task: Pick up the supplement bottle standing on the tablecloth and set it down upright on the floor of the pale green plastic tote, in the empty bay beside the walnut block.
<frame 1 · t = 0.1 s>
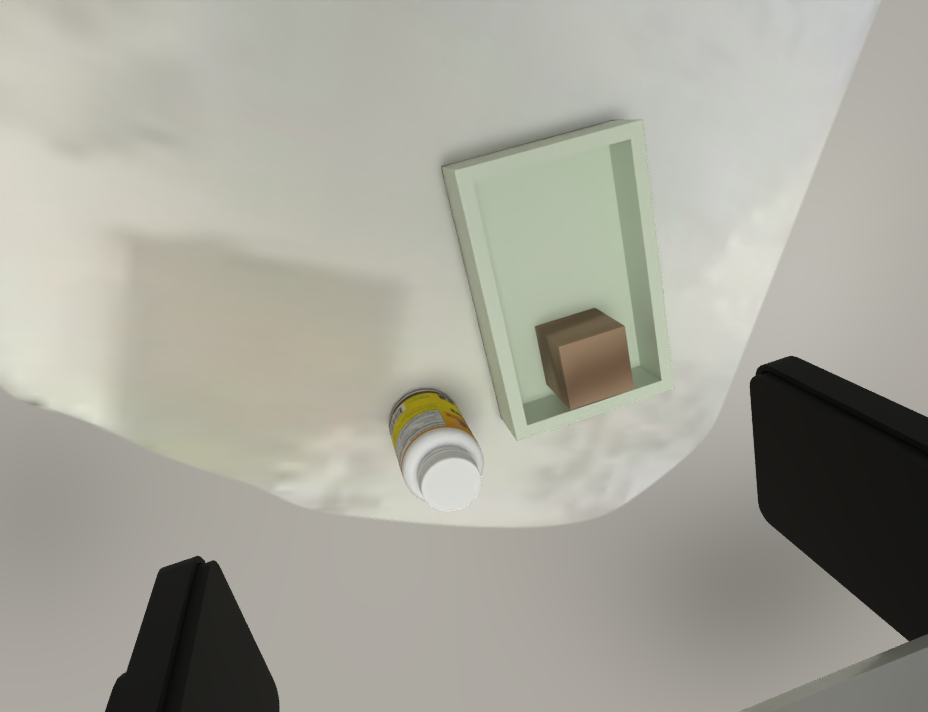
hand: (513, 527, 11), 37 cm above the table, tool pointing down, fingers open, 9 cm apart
walnut block: (570, 346, 51), point 1 cm above the table, touching tote
supplement bottle: (423, 418, 51), on the table
tote: (554, 277, 49), on the table
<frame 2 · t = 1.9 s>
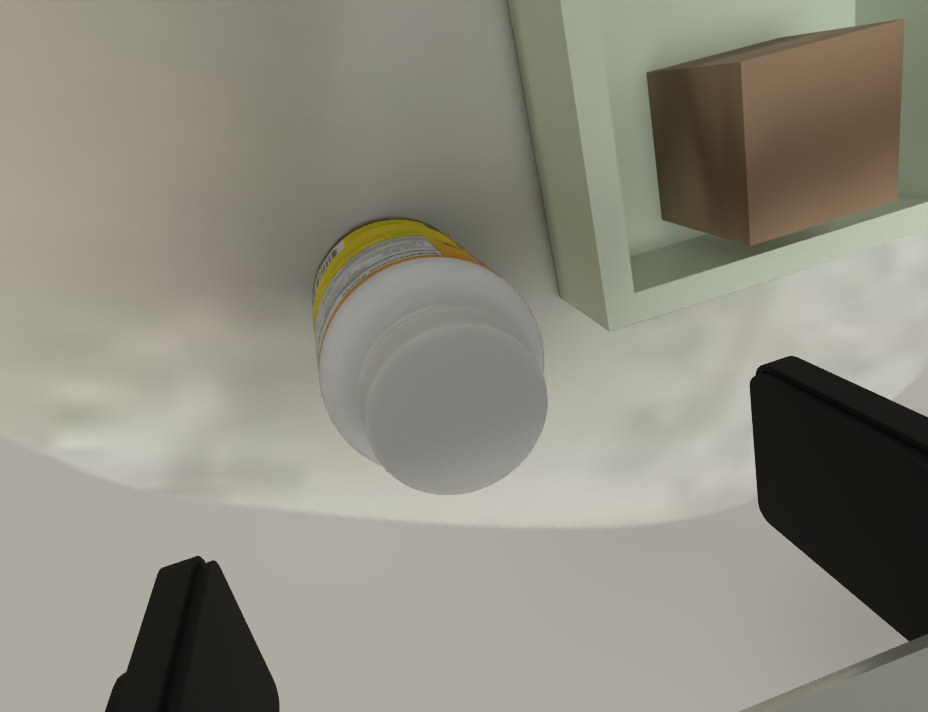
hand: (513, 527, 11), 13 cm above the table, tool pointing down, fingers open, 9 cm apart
walnut block: (718, 131, 23), point 1 cm above the table, touching tote
supplement bottle: (391, 291, 23), on the table
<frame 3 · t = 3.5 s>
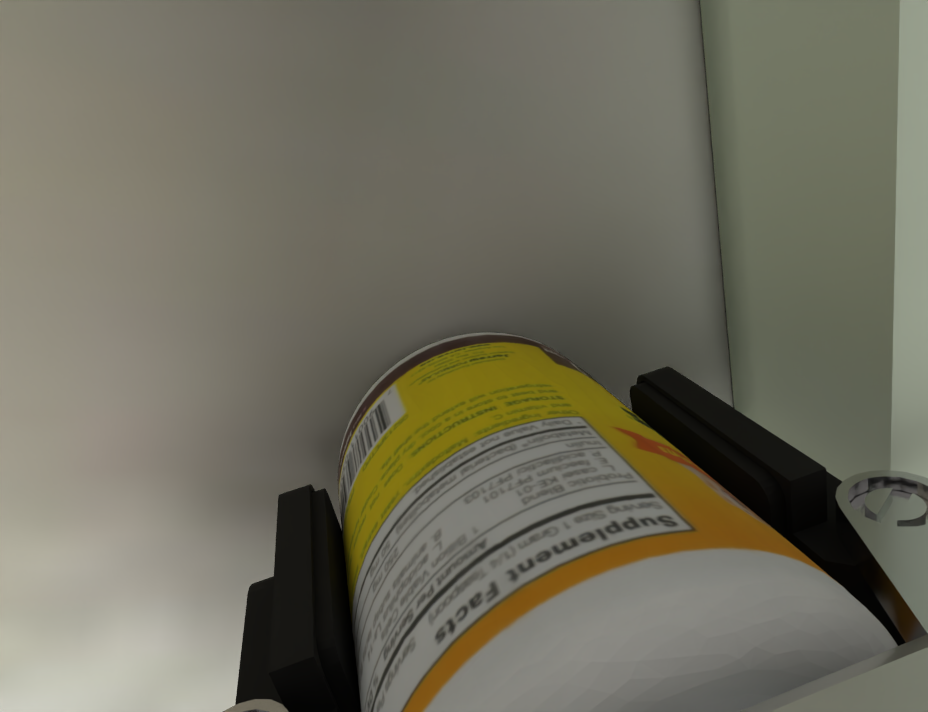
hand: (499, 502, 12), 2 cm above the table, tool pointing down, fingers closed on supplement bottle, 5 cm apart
supplement bottle: (469, 445, 14), on the table, touching gripper
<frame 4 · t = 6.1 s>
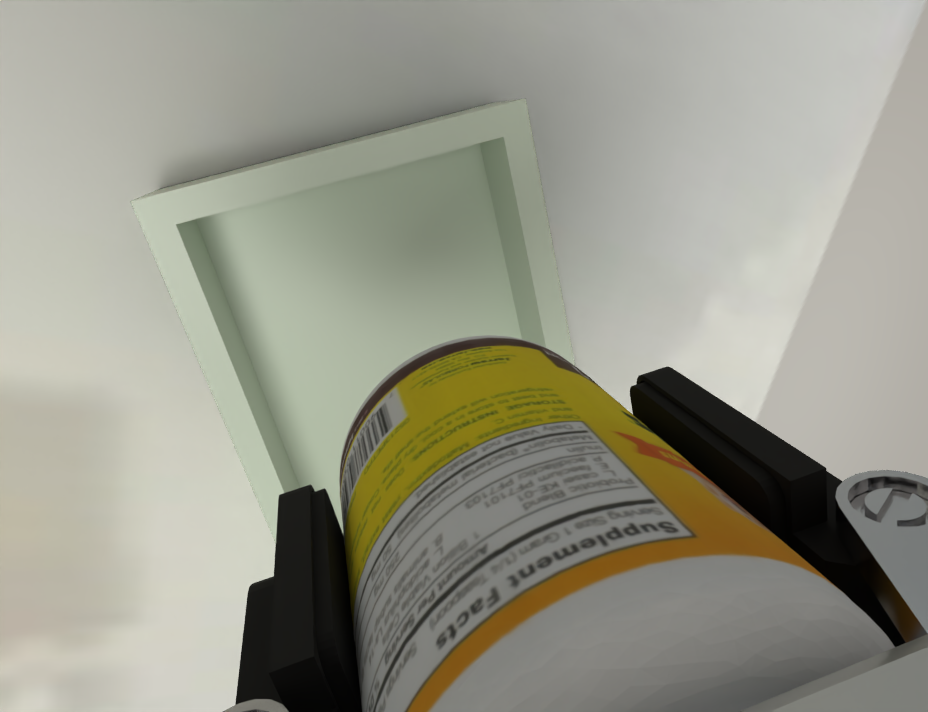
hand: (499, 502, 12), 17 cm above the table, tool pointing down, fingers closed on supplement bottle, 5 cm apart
supplement bottle: (470, 448, 14), point 15 cm above the table, touching gripper
tote: (400, 378, 28), on the table
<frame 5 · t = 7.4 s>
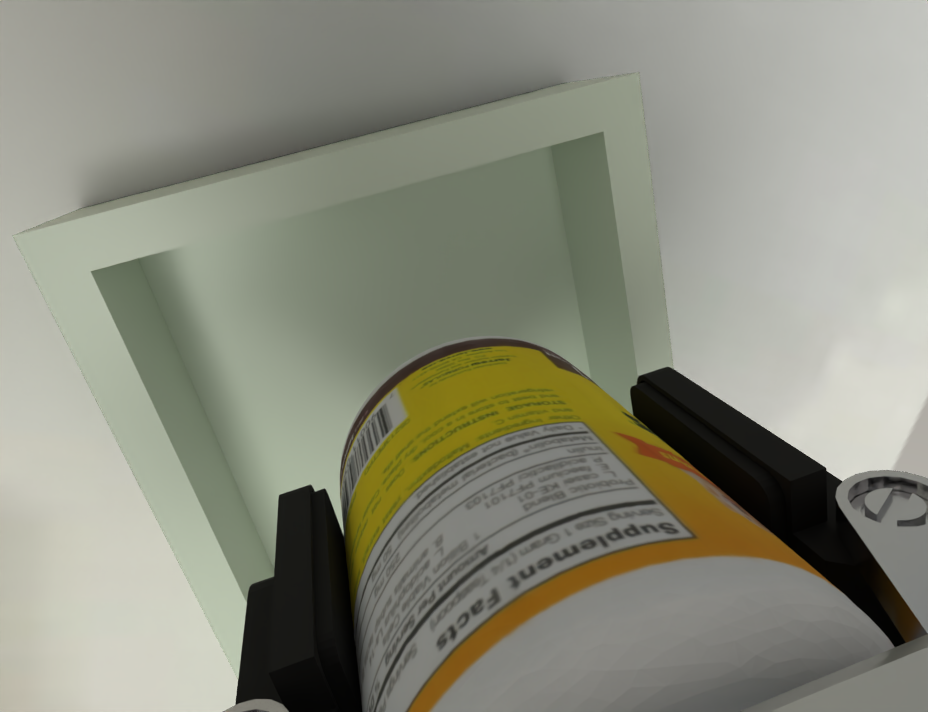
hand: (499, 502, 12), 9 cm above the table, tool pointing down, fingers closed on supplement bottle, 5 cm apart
supplement bottle: (470, 448, 14), point 6 cm above the table, touching gripper
tote: (429, 461, 21), on the table
when the fingers open (5 cm above the table, at t = 8.6 s): supplement bottle drops 2 cm, resting on tote.
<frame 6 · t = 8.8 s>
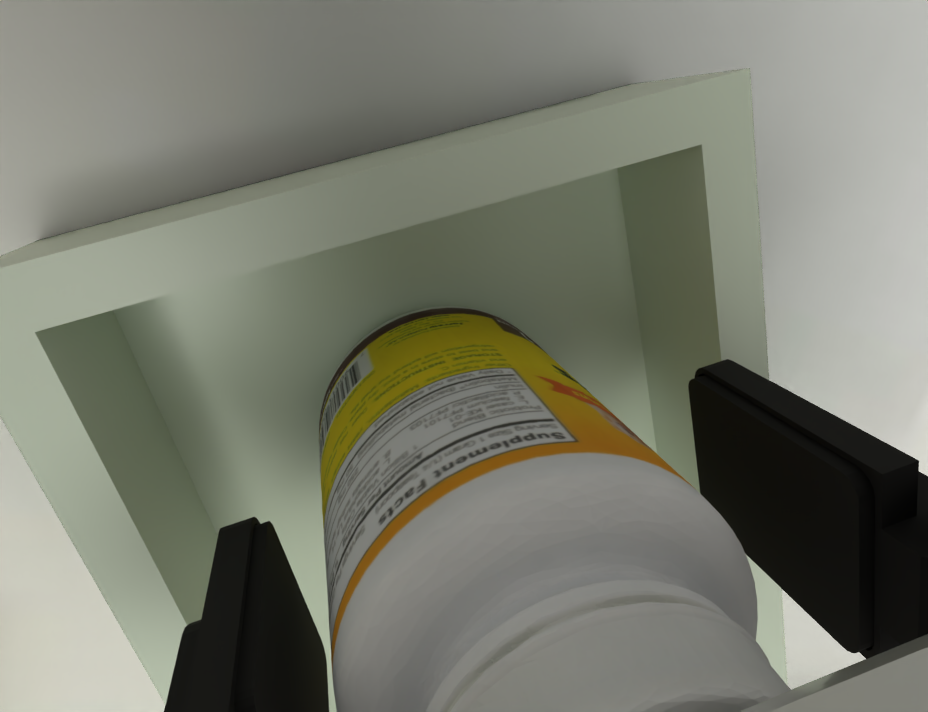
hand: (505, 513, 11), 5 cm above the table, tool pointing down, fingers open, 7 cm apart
supplement bottle: (436, 407, 15), point 1 cm above the table, touching tote
tote: (461, 532, 18), on the table
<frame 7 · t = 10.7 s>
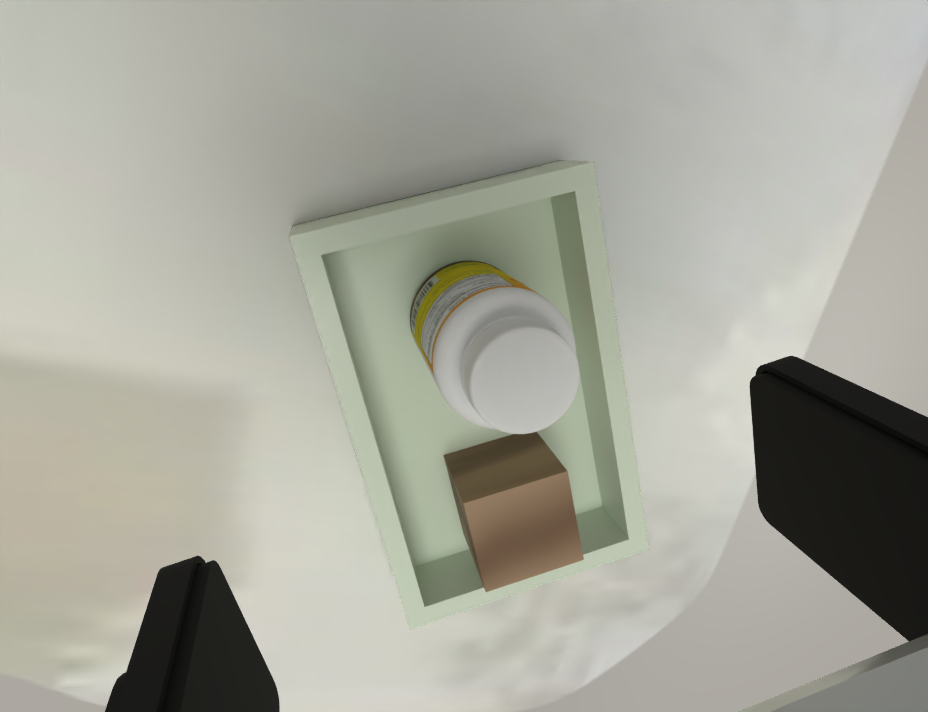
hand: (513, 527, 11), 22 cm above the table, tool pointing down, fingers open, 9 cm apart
walnut block: (498, 482, 35), point 1 cm above the table, touching tote
supplement bottle: (463, 312, 32), point 1 cm above the table, touching tote
tote: (473, 384, 34), on the table
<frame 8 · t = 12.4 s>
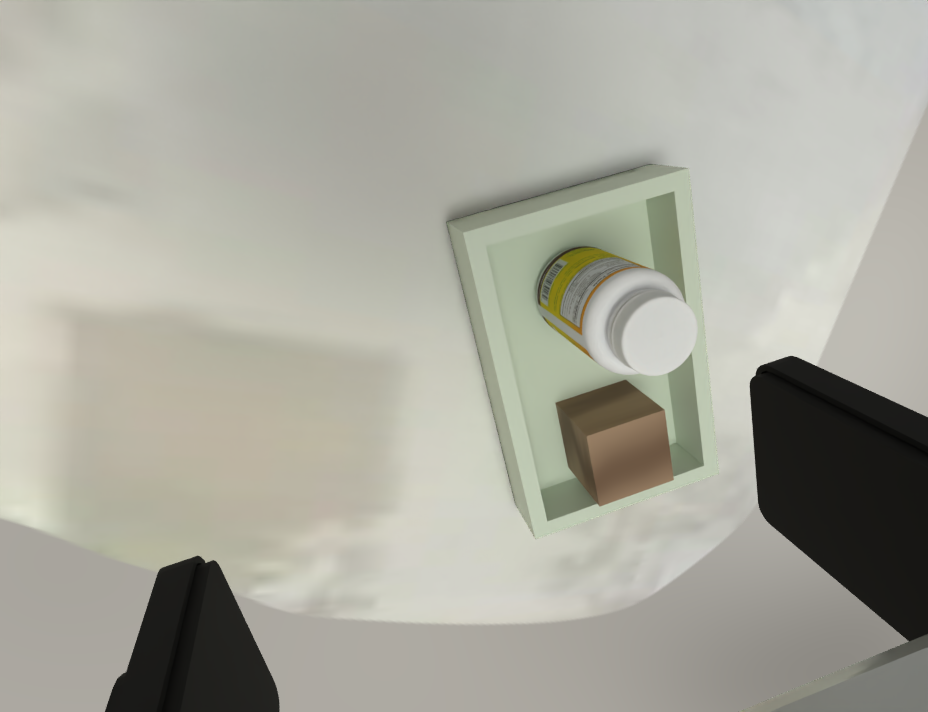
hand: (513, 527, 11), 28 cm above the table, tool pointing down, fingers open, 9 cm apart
walnut block: (596, 423, 43), point 1 cm above the table, touching tote
supplement bottle: (574, 287, 40), point 1 cm above the table, touching tote
tote: (578, 345, 42), on the table
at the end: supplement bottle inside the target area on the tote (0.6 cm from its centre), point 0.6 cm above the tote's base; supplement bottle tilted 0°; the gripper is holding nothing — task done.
